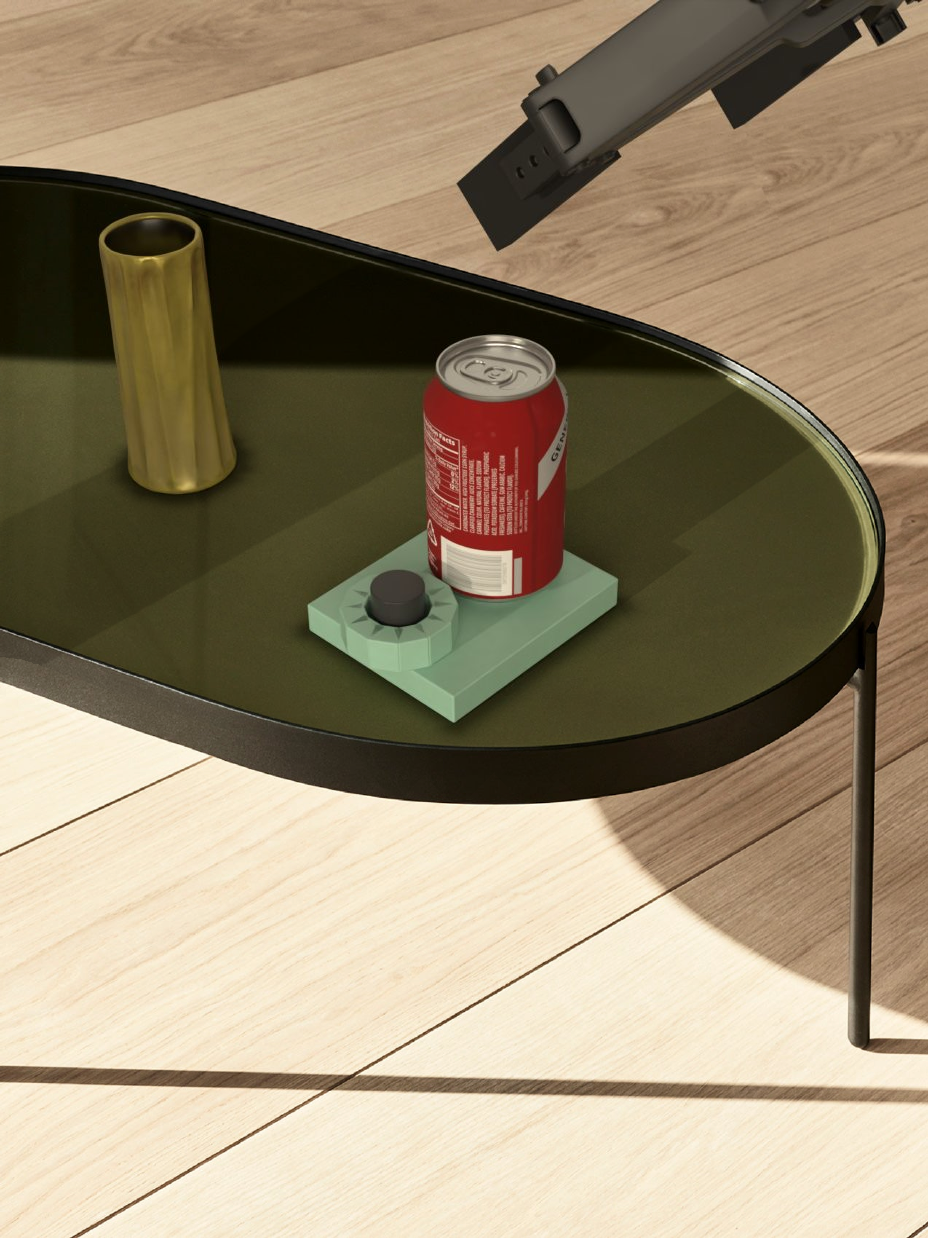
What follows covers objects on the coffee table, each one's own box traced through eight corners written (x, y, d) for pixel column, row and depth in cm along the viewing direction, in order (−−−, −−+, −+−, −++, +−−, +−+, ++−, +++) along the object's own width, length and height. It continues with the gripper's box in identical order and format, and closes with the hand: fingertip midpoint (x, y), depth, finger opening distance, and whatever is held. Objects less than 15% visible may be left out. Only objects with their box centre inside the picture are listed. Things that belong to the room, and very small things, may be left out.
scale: (435, 737, 78) (433, 681, 75) (290, 642, 83) (284, 587, 81) (617, 604, 85) (620, 549, 83) (473, 525, 90) (472, 471, 88)
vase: (231, 495, 93) (202, 261, 84) (120, 497, 93) (79, 263, 84) (242, 434, 97) (215, 206, 88) (136, 435, 97) (99, 208, 88)
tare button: (398, 636, 79) (397, 610, 78) (360, 612, 80) (358, 586, 79) (437, 610, 80) (436, 584, 79) (398, 587, 81) (397, 561, 80)
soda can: (517, 630, 81) (520, 420, 73) (402, 584, 84) (392, 377, 76) (587, 558, 85) (596, 352, 78) (475, 516, 88) (473, 313, 80)
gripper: (891, 28, 37) (425, 371, 55) (1338, -197, 51) (851, 135, 69) (719, -273, 37) (304, 172, 54) (1218, -418, 51) (758, -27, 68)
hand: (609, 152), depth 62 cm, fingers open, 13 cm apart
